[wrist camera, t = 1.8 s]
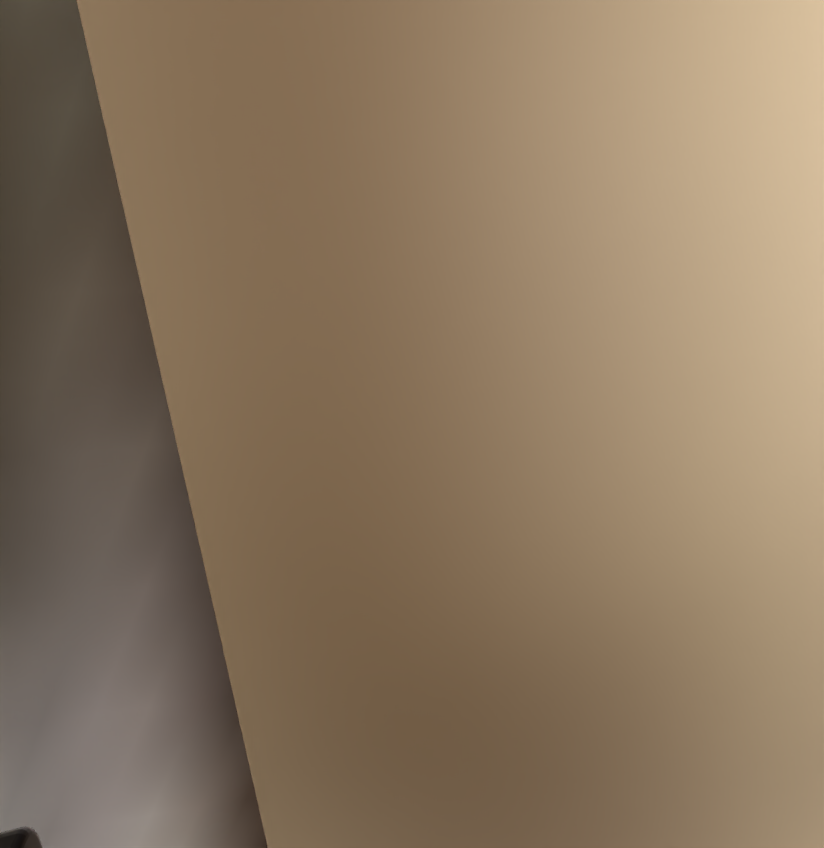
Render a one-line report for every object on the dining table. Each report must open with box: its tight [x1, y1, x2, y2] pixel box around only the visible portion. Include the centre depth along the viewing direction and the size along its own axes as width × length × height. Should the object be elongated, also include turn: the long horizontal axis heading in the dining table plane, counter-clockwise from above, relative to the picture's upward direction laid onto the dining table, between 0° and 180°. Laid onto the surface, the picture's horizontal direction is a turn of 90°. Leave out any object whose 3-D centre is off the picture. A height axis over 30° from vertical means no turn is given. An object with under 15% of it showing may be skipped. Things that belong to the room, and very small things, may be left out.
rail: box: [76, 0, 824, 848], centre depth 8 cm, size 4×16×6 cm, turn 7°
